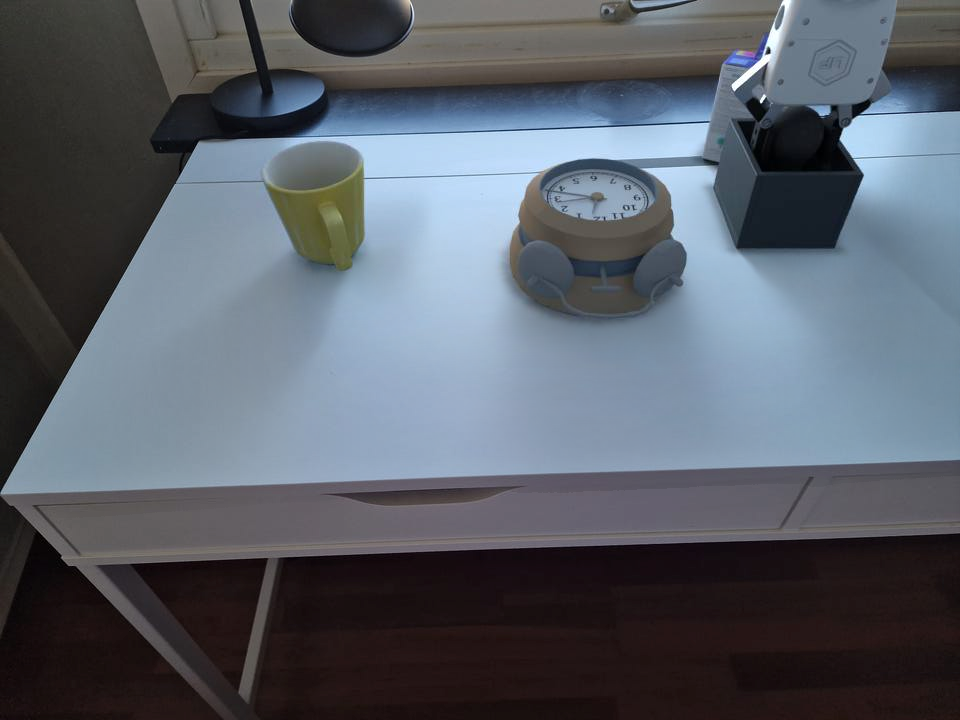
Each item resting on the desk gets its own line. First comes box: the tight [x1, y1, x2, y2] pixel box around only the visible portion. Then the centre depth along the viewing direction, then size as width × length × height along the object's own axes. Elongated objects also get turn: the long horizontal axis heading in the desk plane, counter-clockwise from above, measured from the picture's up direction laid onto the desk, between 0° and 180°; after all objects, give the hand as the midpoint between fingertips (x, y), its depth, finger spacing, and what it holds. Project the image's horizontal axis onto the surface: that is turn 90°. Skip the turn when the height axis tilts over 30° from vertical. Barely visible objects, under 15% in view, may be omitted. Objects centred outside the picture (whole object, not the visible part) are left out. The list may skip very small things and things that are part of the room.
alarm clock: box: [509, 157, 688, 320], centre depth 68 cm, size 17×9×23 cm
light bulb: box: [769, 106, 825, 172], centre depth 73 cm, size 6×6×10 cm
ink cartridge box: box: [701, 33, 790, 163], centre depth 82 cm, size 10×6×14 cm, turn 59°
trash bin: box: [712, 116, 865, 249], centre depth 75 cm, size 10×12×9 cm
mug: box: [260, 140, 366, 272], centre depth 71 cm, size 14×10×10 cm
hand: (789, 156), depth 73 cm, fingers closed on light bulb, 5 cm apart
